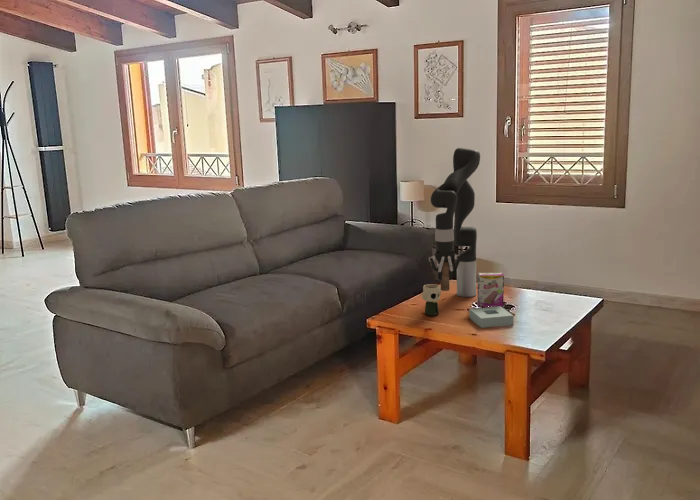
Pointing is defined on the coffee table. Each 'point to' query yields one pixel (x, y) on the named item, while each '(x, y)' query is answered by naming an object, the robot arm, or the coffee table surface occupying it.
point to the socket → (491, 316)
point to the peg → (445, 277)
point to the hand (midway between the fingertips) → (444, 279)
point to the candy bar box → (490, 289)
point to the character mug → (431, 298)
